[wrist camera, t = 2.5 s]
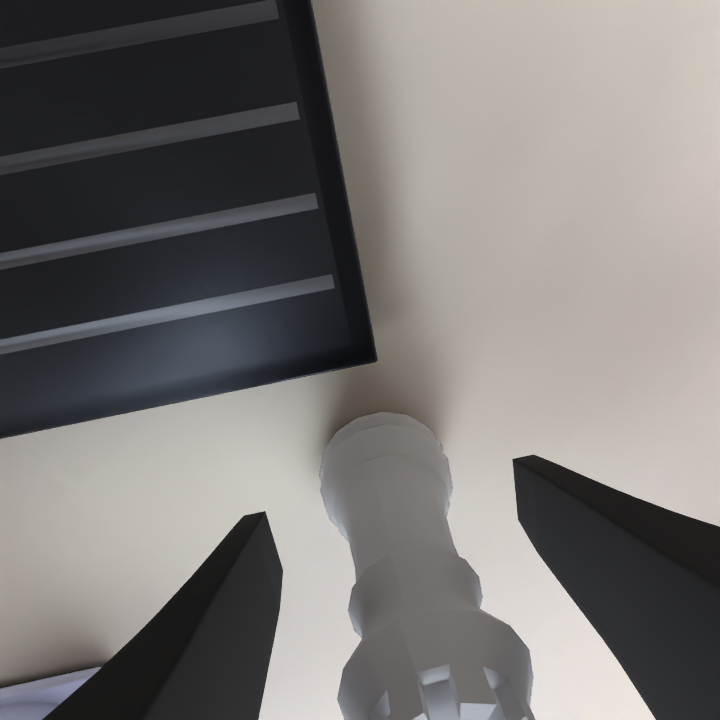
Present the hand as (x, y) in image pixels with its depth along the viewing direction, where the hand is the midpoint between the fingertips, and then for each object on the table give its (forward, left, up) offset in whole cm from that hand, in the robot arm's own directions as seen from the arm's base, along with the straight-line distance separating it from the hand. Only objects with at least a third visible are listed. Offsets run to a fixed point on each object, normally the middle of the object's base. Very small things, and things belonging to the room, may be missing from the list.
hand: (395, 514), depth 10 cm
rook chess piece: (0, 0, -3) cm, 3 cm away
